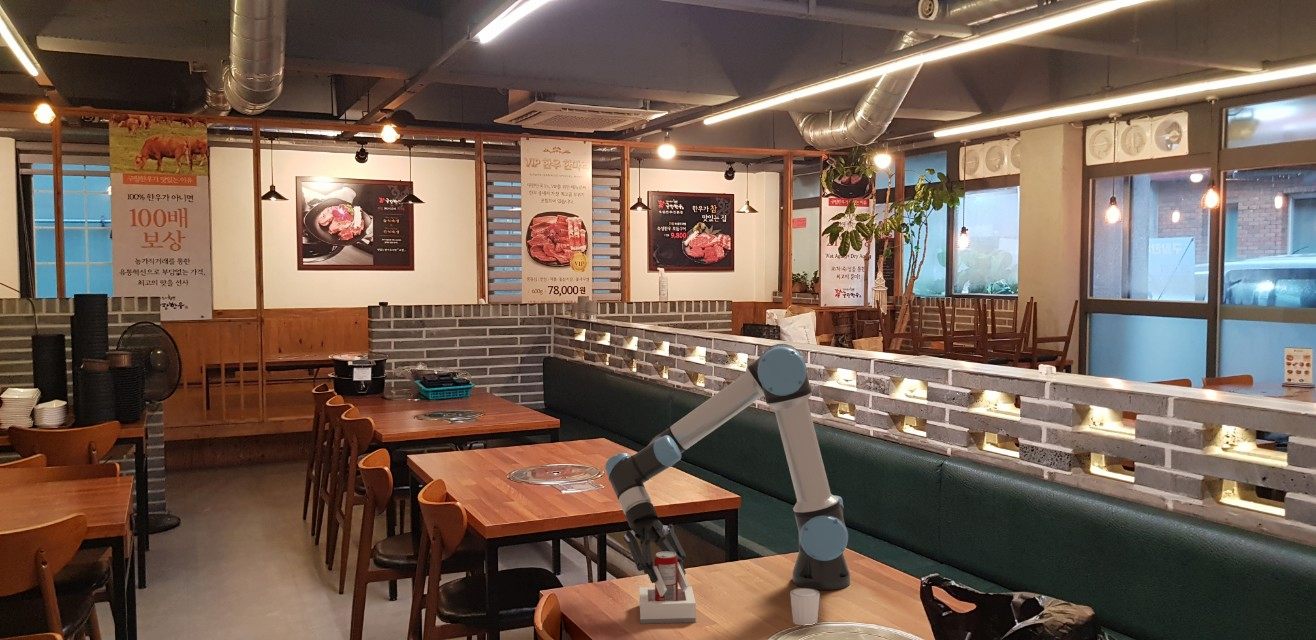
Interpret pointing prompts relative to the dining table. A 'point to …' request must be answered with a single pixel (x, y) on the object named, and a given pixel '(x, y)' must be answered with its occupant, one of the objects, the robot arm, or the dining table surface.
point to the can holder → (667, 607)
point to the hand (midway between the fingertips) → (674, 590)
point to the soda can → (667, 575)
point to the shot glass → (804, 605)
